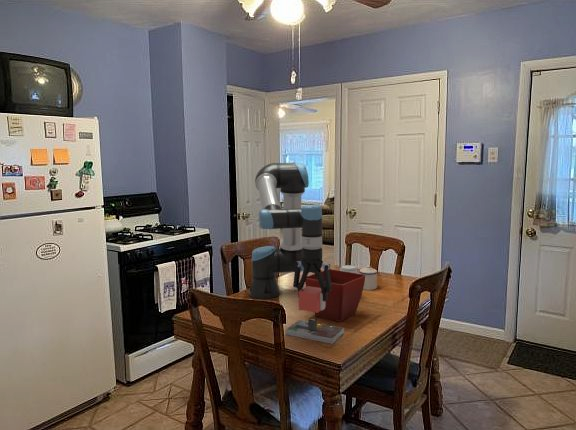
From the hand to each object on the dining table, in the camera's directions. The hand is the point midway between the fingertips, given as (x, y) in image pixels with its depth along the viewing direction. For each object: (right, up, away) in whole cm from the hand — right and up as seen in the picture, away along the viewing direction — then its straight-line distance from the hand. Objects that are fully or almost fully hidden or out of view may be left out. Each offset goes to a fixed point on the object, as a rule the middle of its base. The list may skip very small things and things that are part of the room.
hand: (312, 307), depth 161 cm
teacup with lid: (+31, -3, +60) cm, 67 cm away
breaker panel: (+1, -10, +2) cm, 11 cm away
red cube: (0, 0, 0) cm, 0 cm away
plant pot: (+11, -8, +22) cm, 26 cm away
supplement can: (+20, -5, +45) cm, 49 cm away
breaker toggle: (0, -8, +1) cm, 8 cm away
